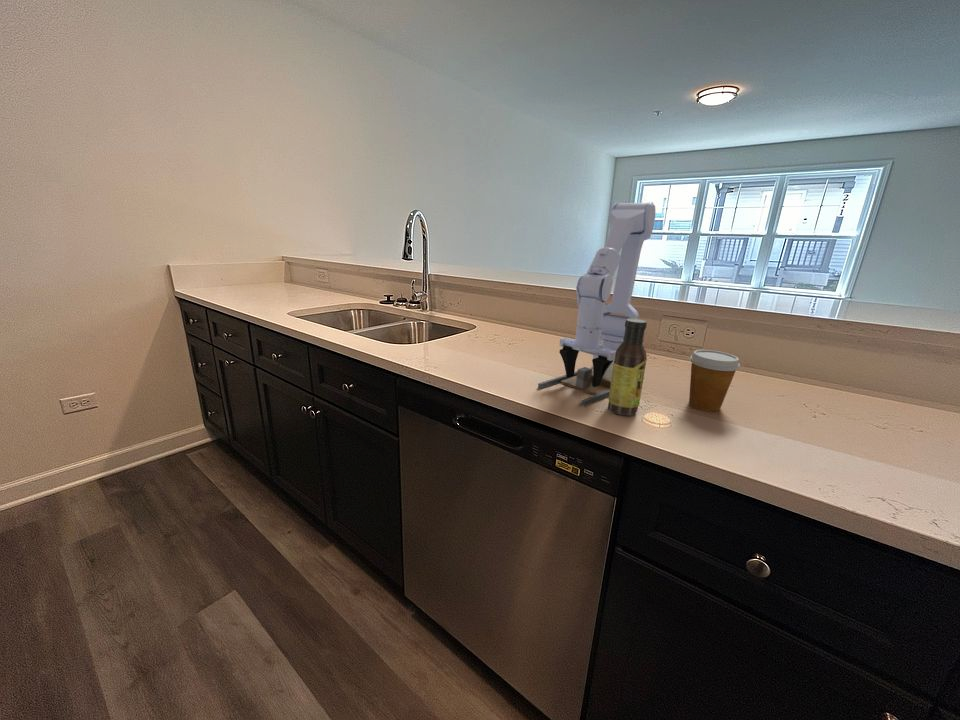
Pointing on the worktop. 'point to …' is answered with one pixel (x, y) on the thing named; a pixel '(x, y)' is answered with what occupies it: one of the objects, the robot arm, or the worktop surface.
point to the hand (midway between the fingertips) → (582, 381)
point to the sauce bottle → (628, 370)
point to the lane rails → (583, 402)
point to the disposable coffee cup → (711, 378)
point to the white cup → (609, 371)
